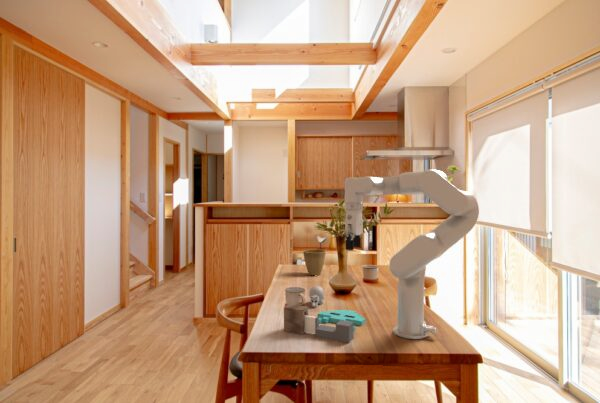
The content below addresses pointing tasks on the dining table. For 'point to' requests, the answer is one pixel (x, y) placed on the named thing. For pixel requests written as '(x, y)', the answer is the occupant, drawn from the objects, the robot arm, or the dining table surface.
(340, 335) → the grey stepped block
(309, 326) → the gate
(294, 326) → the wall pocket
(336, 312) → the alien figure
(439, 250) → the robot arm
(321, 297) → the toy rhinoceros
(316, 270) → the plant pot
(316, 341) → the dining table surface
